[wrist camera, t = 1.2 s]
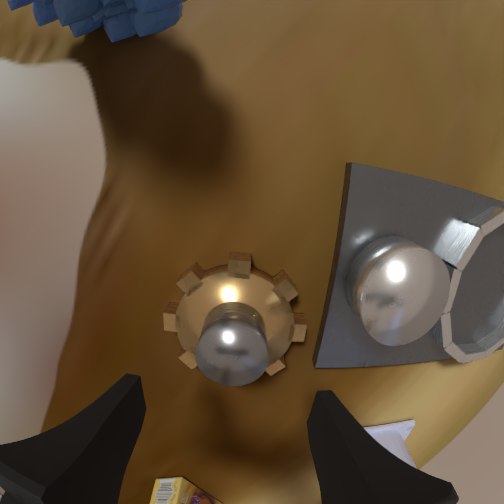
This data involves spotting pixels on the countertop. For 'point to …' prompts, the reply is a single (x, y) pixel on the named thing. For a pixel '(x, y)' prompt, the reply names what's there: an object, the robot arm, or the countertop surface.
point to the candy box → (179, 492)
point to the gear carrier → (412, 273)
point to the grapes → (107, 15)
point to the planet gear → (235, 320)
